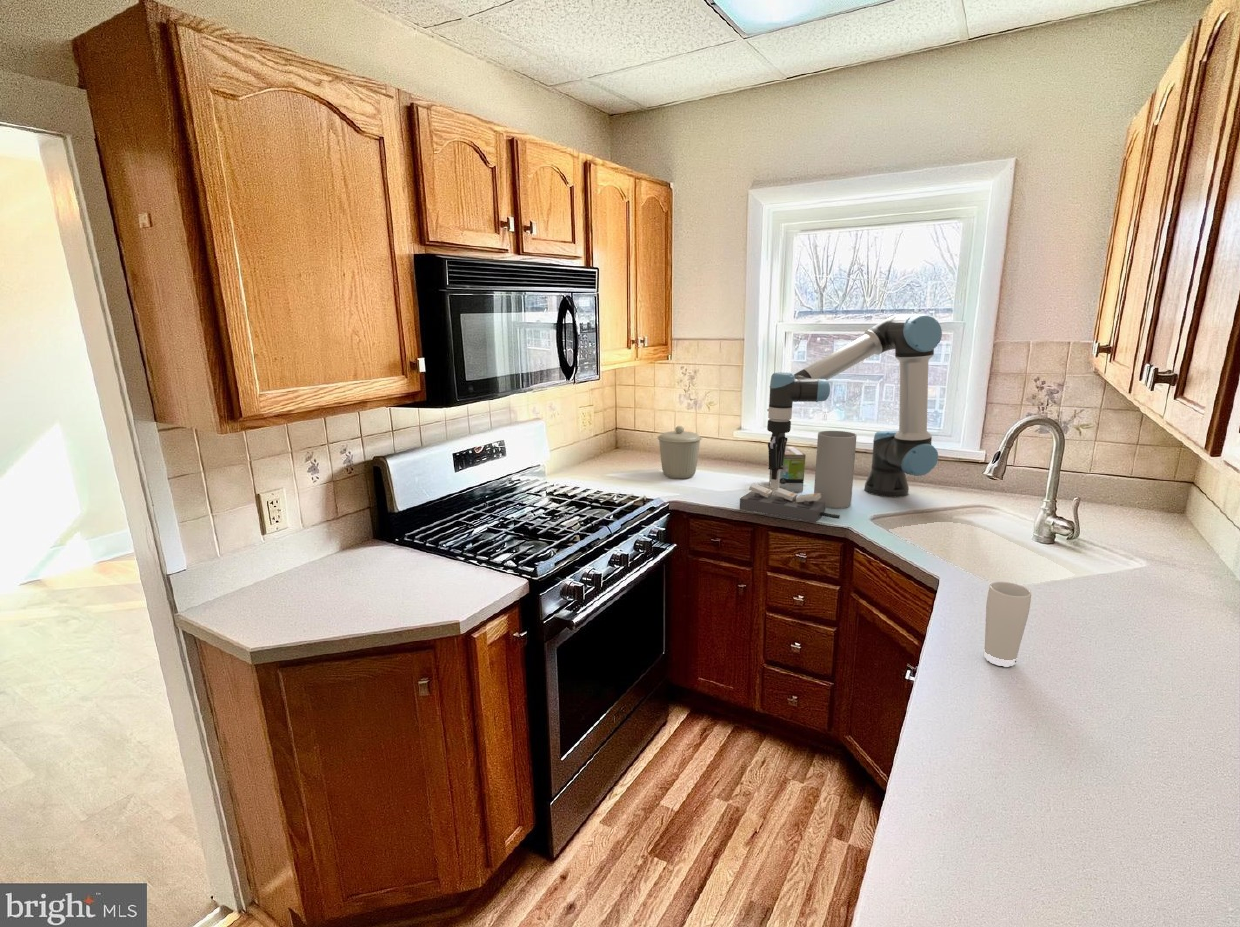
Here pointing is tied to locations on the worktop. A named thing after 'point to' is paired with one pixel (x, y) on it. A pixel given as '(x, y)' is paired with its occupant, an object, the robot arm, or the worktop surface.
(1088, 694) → the worktop surface
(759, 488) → the rocker
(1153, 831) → the worktop surface
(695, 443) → the canister
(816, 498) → the rocker
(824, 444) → the cylinder vase
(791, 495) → the rocker
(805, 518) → the power strip
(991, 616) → the drinking glass
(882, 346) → the robot arm
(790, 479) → the tea box
